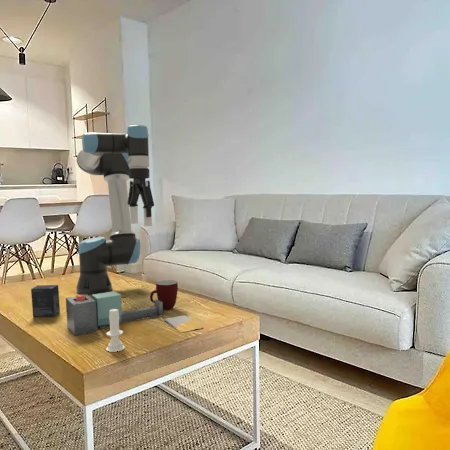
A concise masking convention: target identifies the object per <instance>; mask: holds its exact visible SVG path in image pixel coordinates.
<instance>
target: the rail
mask: <svg viewBox="0 0 450 450" xmlns="http://www.w3.org/2000/svg"><path fill="white" fill-rule="evenodd" d="M153 300H154V303H153V304H154V305H152V306H148V307H147V306H146V307H142V308H137V309H136V308H135V309H132V310H131V309H130V310H126V311H122V315H121V322H119V324H123V323H127V322H132V321H137V320H138V319H139V320H143V319H142V318H144V319H148V318H147V317H150V318H149V319H151V318H152V319H156V318H157V317H161V315H163V316H164V310H163V302H162V301H160V300H158V299H153ZM155 317H156V318H155ZM107 326H110V324H106V325H101V326H97V328H99V329H100V330H102V329H106V328H107Z"/></svg>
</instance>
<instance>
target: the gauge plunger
mask: <svg viewBox="0 0 450 450" xmlns="http://www.w3.org/2000/svg"><path fill="white" fill-rule="evenodd" d="M85 295H86V294H77V295H75V296H76V302H77V301H84V300H85Z"/></svg>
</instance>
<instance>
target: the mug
mask: <svg viewBox="0 0 450 450" xmlns="http://www.w3.org/2000/svg"><path fill="white" fill-rule="evenodd" d="M178 289H179V285H178V281H177V280H172V279H169V280H159V281H156V282H155V289H154V290H152V291H151V292H150V295H149V300H150V302H152V303H153V304H154V300H155V299H154V297H153V296H154V294H156V296H157V300H160V301H162V302H163V311H170V309H171V310H173V308H174V307H175V305H176V302H177V299H178V291H179V290H178Z"/></svg>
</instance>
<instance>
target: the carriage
mask: <svg viewBox="0 0 450 450" xmlns="http://www.w3.org/2000/svg"><path fill="white" fill-rule="evenodd" d="M91 298H92V299H94V300H95V301H96V317H97V326H101V325H106V324H110V320H109V311H110V310H112V309H118V311H119V322H121V315H122V312H123V308H122V294H120V293H119V292H117V291H116V290H114V291H113V290H112V291H108V292H105V293H100V294H91Z"/></svg>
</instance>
